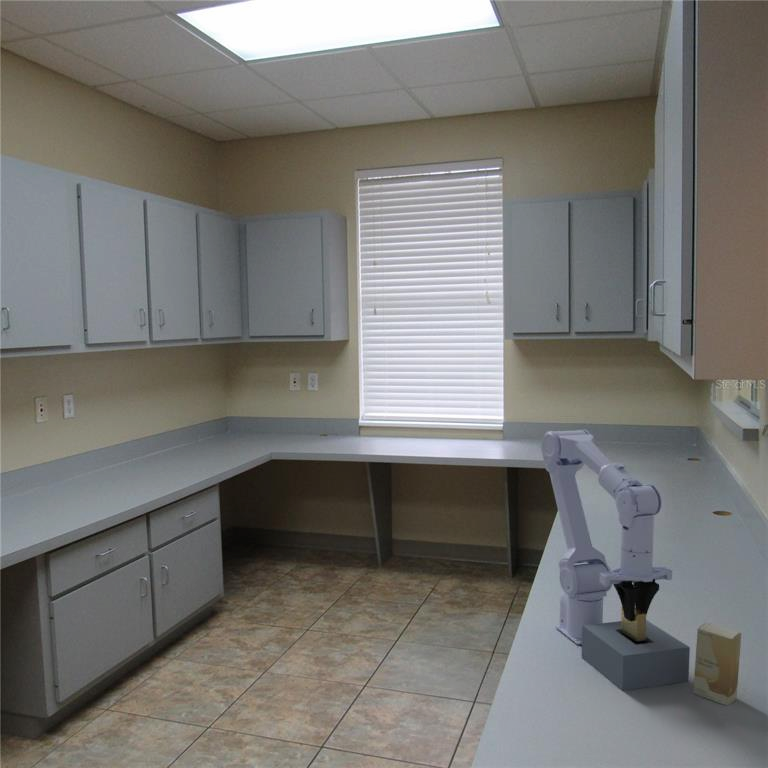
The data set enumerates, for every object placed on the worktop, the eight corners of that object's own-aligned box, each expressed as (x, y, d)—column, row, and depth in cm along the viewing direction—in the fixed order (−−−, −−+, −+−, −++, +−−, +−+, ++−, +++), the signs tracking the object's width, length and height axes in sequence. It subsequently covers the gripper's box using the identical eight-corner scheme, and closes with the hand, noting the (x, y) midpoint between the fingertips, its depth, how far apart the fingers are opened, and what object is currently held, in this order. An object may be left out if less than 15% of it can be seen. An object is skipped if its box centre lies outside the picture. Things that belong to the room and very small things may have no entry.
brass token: (621, 632, 143) (621, 606, 143) (630, 631, 144) (630, 605, 144) (636, 641, 138) (636, 614, 138) (646, 640, 139) (646, 613, 139)
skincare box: (692, 694, 132) (695, 627, 131) (702, 685, 135) (705, 620, 134) (729, 707, 127) (732, 638, 126) (739, 698, 130) (742, 631, 129)
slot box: (581, 657, 146) (582, 625, 146) (642, 649, 150) (643, 618, 149) (622, 690, 133) (623, 655, 132) (688, 681, 136) (689, 647, 136)
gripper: (615, 558, 134) (613, 630, 135) (683, 552, 138) (681, 622, 139) (594, 547, 141) (592, 616, 142) (659, 541, 144) (657, 609, 145)
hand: (634, 618), depth 141 cm, fingers closed on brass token, 2 cm apart
